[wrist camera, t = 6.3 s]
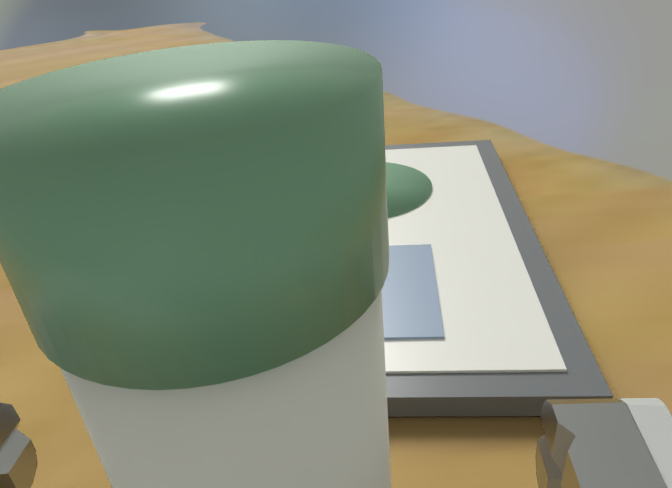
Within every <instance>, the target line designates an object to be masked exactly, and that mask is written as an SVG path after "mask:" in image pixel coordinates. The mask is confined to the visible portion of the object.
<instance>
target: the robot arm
mask: <svg viewBox="0 0 672 488" xmlns="http://www.w3.org/2000/svg"><path fill="white" fill-rule="evenodd" d="M540 419H541V422H542V426H543V429H544V432H545V434H544V435H543V436H542V437H540V438H539V439H538V440H537V447H536V476H537V482H538V487H539V488H672V415H671V413H670V412H669V410H668V408H667V406H666V405H665V403H663V402H662V401H661V400H660V399H658V398H625V399H551V400H545V402H544V404H543V406H542V412H541V418H540ZM20 420H21V419H20V418H19V416H18V414H17V413H16V411H15V409H14V408H13V406H12V405H11V404H4V403H0V488H30V487H31V486H32V484H33V481H34V477H35V472H36V468H37V455H36V449H35V447H34V445H33V443H32V441H31V439H30V438H28V437H27V436H25V435H24V434H23V433H21V432H20V431H18V430H17V427H18V424H19V422H20Z"/></svg>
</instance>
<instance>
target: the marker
mask: <svg viewBox="0 0 672 488" xmlns="http://www.w3.org/2000/svg"><path fill="white" fill-rule="evenodd" d="M389 260H390V258H389V232H388V207H387V182H386V156H385V131H384V105H383V80H382V68H381V64H380V62H379V61H378V60H377V59H376V58H375V57H373V56H372V55H370V54H368V53H366V52H364V51H361V50H359V49H355V48H351V47H347V46H342V45H337V44H330V43H321V42H310V41H288V40H264V41H263V40H262V41H238V42H223V43H211V44H201V45H191V46H183V47H175V48H167V49H160V50H154V51H147V52H141V53H135V54H130V55H124V56H119V57H114V58H109V59H104V60H99V61H94V62H90V63H86V64H81V65H77V66H73V67H69V68H65V69H61V70H57V71H54V72H50V73H47V74H43V75H40V76H37V77H34V78H31V79H27V80H24V81H21V82H18V83H16V84H13V85H10V86H8V87H5V88H2V89H0V262H1V265H2V267H3V269H4V271H5V273H6V276H7V278H8V280H9V282H10V285H11V287H12V289H13V291H14V293H15V296H16V298H17V300H18V302H19V305H20V307H21V309H22V311H23V314H24V316H25V318H26V320H27V322H28V325H29V327H30V329H31V331H32V334H33V336H34V338H35V340H36V342H37V344H38V347H39V348H40V349H41V350H42V352H43V353H44V354H45V355H46V356H47V358H48V359H49V360H51V361H52V362H53V363H55V364H56V365H57V366H59V367H60V368H61V371H62V373H63V375H64V377H65V380H66V382H67V384H68V387H69V389H70V391H71V394H72V396H73V398H74V400H75V403H76V405H77V407H78V410H79V412H80V414H81V417H82V419H83V421H84V423H85V426H86V428H87V430H88V433H89V435H90V437H91V440H92V442H93V444H94V447H95V449H96V451H97V453H98V456H99V458H100V460H101V463H102V465H103V467H104V470H105V472H106V474H107V476H108V479H109V481H110V483H111V486H112V488H391V469H390V449H389V428H388V408H387V388H386V367H385V347H384V327H383V306H382V288H383V286H384V283H385V280H386V277H387V274H388V270H389Z"/></svg>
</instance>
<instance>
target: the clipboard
mask: <svg viewBox="0 0 672 488" xmlns="http://www.w3.org/2000/svg"><path fill="white" fill-rule="evenodd" d="M385 156H386V182H387V207H388V232H389V258H390V260H389V270H388V274H387V277H386V280H385V283H384V286H383V288H382V306H383V327H384V347H385V367H386V388H387V408H388V417H427V416H541V412H542V406H543V404H544V402H545V400H551V399H612V397H613V395H612V393H611V391H610V389H609V387H608V385H607V383H606V381H605V379H604V377H603V375H602V372H601V370H600V368H599V366H598V364H597V362H596V360H595V358H594V356H593V354H592V351H591V349H590V347H589V345H588V343H587V341H586V339H585V337H584V335H583V333H582V330H581V328H580V326H579V324H578V322H577V320H576V318H575V316H574V314H573V312H572V310H571V307H570V305H569V303H568V301H567V299H566V297H565V295H564V293H563V291H562V289H561V286H560V284H559V282H558V280H557V278H556V276H555V274H554V272H553V270H552V268H551V265H550V263H549V261H548V259H547V257H546V255H545V253H544V251H543V249H542V247H541V245H540V242H539V240H538V238H537V236H536V234H535V232H534V230H533V228H532V226H531V224H530V221H529V219H528V217H527V215H526V213H525V211H524V209H523V207H522V205H521V203H520V200H519V198H518V196H517V194H516V192H515V190H514V188H513V186H512V184H511V182H510V180H509V177H508V175H507V173H506V171H505V169H504V167H503V165H502V163H501V161H500V159H499V156H498V154H497V152H496V150H495V148H494V146H493V144H492V142H491V140H481V141H462V142H442V143H423V144H404V145H385Z"/></svg>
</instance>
